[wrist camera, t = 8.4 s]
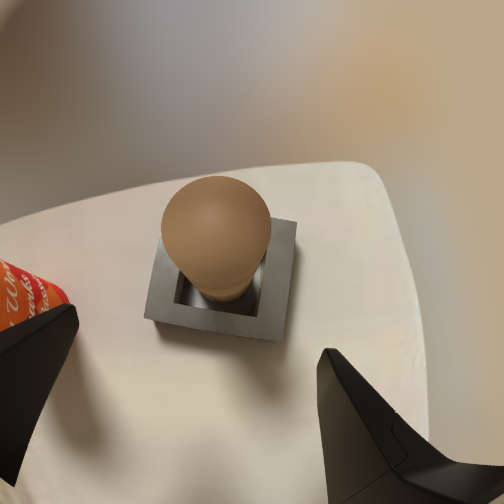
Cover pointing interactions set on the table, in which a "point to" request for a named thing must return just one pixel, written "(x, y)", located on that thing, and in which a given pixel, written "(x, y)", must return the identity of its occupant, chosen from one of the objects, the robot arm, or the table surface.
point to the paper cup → (25, 295)
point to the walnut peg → (217, 235)
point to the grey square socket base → (259, 327)
